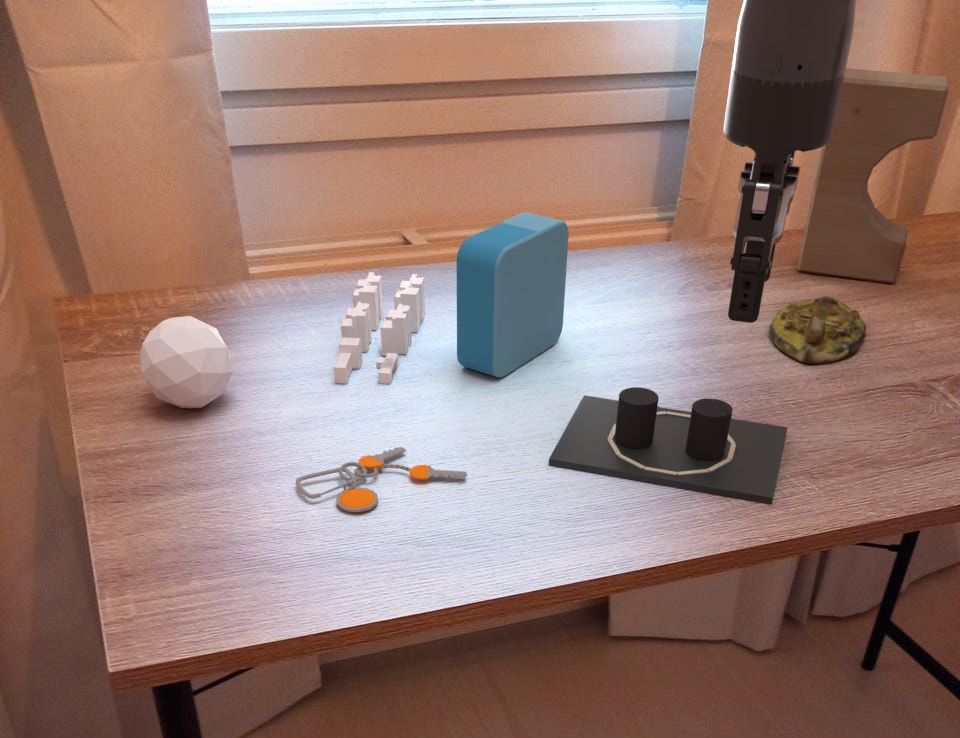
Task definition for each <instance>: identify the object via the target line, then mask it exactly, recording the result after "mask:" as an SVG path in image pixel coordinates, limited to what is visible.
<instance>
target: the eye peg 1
mask: <svg viewBox="0 0 960 738" xmlns="http://www.w3.org/2000/svg"><path fill="white" fill-rule="evenodd" d="M618 394H619V395H618V401H619V402H618V411H617V420H616V429H615V441H616V442H617V443H618V444H619V445H621V446H623V447H626V448H631V449H641V448H645V447H648V446H650V445H651V444H652V442H653V436H654V429H655V421H656V414H657V407H659V394H658V393H656V392H655V391H654V390H652V389H649V388H647V387H646V388H645V387H640V386H635V387H633V386H632V387H627V388H624V389H622V390H621V391H620V392H619V393H618Z"/></svg>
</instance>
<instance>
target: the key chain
mask: <svg viewBox="0 0 960 738" xmlns="http://www.w3.org/2000/svg"><path fill="white" fill-rule="evenodd" d="M405 452H407V449H406V448H405V447H403V446H398V447H397V446H396V447H394V448H392V449H388V450H384V451H383V452H382V453H378V454H377V453H376V454H375V455H370V454H368V455H363V456H361V457H360V458H359V459H358V462H355V461H348V462H345V463H343V464H342V465H341V466H340V467H337V468H332V469H327V470H322V471H318V472H313V473H309V474H305V475H302V476H300V477H297V478H296V479H295V485H296V488H297V490H298V491H299V492H300V493H301V494H302V495H303V496H305V497H306V498H308V499H310V500H314V499H318V498H321V497H322V496H324V495H327V494H329V493H332V492H334V491H337V490H339V489H343V490H342V491H341V492H339V493H338V494H337V496H336V497H335V501H336V506H337V507H339V509H341V510H343V511H345V512H350V513H363V512H366V511H369V510H372V509H373V508H374V507H376V506H377V504H378V503H379V496H378V494H377V493H376V492H375V491H374V490H372V489H369V488H366V487H360V486H359V487H356V485H357V483H358V482H359V483H360V482H361V481H363V480H365V478H373V477H376V475H378V473H379V471H378V470H382V469H397V470H398V469H400V470H404V471H406V472H409V476H410V477H412V478H413V479H415V480H420V481H424V480H425V481H426V480H429V479H431V478H435V479H436V478H440V477H441V478H444V479H448V478H450V479H454V478H458V479H459V480H460V479H461V480H462V479H465V478H466V477H467V476H468V473H467V471H463V470H462V471H460V470H445V469H444V470H443V469H435V468H433V467H432V465H427V464H416V465H414V466H412V467H408V466H405V465H402V464H401V465H400V464H393V463H389V464H385V462H384V461H386V460H388V459H391V458H393V457H395V456H398V455H400V454H402V453H405ZM348 467H356V468H355V469H354V470H353V472H354V473H353V472H352V471H351V470H350V469H348ZM368 470H371V471H373V472H370V473H368ZM360 471H362V473H361V472H360ZM335 473H336V474H338V475H339V477H340V478H341V479H342V480H344V481H345V482H344V483H342V484H339V485H337V486H335V487H332V488H330V489H328V490H324V491H323V492H320V493H319V492H317V493H310V492H308V491H307V490H306V489H305V488H304V487H303V486H302V483H301V482H304V481H306V480H309V479H313V478H318V477H323V476H326V475H331V474H335ZM344 473H345V474H346V475H348V476H346V475H345V474H344ZM356 476H357V477H356ZM347 486H350V487H349V488H346V487H347Z"/></svg>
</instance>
